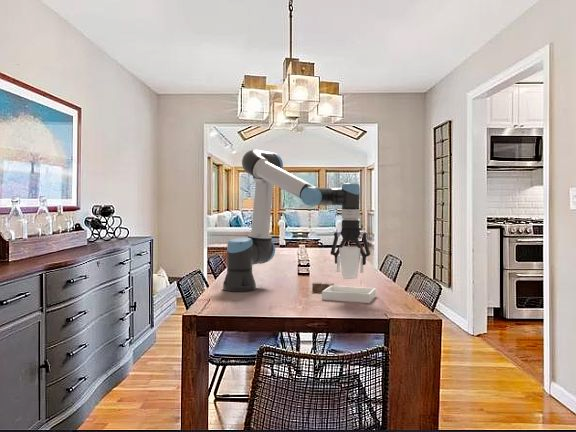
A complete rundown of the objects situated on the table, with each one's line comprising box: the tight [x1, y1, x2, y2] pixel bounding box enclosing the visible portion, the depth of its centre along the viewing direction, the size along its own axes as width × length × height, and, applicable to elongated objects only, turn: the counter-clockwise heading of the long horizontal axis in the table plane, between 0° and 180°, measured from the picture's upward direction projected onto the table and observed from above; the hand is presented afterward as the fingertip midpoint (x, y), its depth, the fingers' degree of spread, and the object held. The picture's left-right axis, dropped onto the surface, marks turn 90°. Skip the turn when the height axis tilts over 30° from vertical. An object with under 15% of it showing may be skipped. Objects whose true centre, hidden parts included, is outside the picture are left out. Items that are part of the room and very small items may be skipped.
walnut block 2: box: [322, 282, 335, 291], centre depth 234 cm, size 4×4×4 cm
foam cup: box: [338, 246, 362, 280], centre depth 220 cm, size 10×9×13 cm
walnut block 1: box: [311, 281, 323, 293], centre depth 236 cm, size 4×4×4 cm
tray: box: [321, 284, 377, 304], centre depth 221 cm, size 20×16×4 cm
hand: (350, 272), depth 221 cm, fingers closed on foam cup, 9 cm apart
